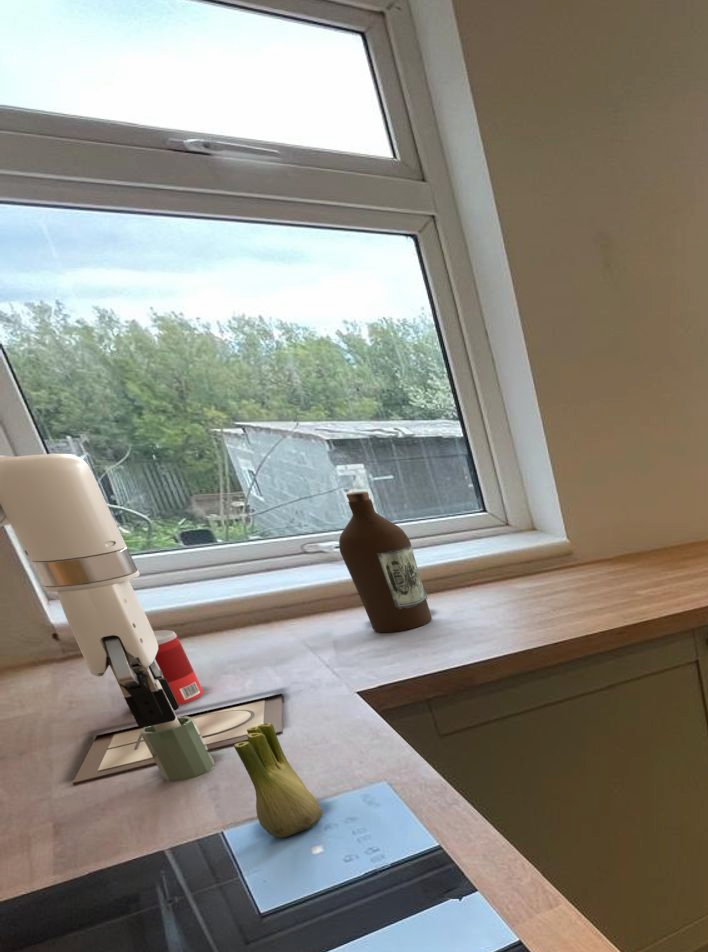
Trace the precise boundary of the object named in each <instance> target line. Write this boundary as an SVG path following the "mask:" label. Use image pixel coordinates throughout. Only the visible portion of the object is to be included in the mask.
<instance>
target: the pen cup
mask: <svg viewBox="0 0 708 952" xmlns="http://www.w3.org/2000/svg"><path fill="white" fill-rule="evenodd" d="M184 716H185V715H184ZM176 717H177V719H178V721H179V723H180V725H179V726H176V727H174V728H171V729H166V730H162V731H156V730H155V728H154V727H153V726H148V727H144V728H143V729H141V731H140V733H141V735H142V737H143V739H144V741H145V743H146V745H147V747H148V749H149V751H150V753H151V754H152V756H153V758H154V760H155V762H156V764H157V765H156V766H157V768H158V771H159V772H160V774H161V776H162V777H163V779H164V781H166V782H179V781H185V780H189V779H193V778H196V777H199V776H202V775H204V774H206V773H209V772H210V771H211V770H213V769H215V767H216V763H215V761H214V758H213V757H212V754H211V751H210V752H209V750H208V748H207V746H206V744H205V742H204V740H203V738H202V736H201V734H200V732H199V730H198V728H197V726H196V724H195V722H194V720H193V718H192V717H187V716H185V717H180V716H176Z"/></svg>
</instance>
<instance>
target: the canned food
mask: <svg viewBox="0 0 708 952" xmlns="http://www.w3.org/2000/svg"><path fill="white" fill-rule="evenodd" d="M153 632H154V635H155V637H156V640H157V643H158V651H157V654H156V656H155V660H156V662H157V664H158V666H159V668H160V670H161V672H162V674H163V678H162V679H165V678H166V680H167V682H168V684H169V686H170V688H171V690H172V692H173V694H174V696H175V699H176V701H177V703H178V705H179V706H181V705H184V704H187V703H190V702H192V701H195V700H197V699H198V698H201V697H202V696H203V695H204V693H205V692H204V690H203V688H202V686H201V683H200V681H199V679H198V677H197V675H196V672H195V671H194V669H193V666H192V664H191V662H190V660H189V658H188V656H187V653H186V651H185V649H184V647H183V645H182V643H181V641H180V639H179V637H178V635H177V633H175V631H174V630H170V629H169V630H167V629H164V630H153ZM158 680H160V679H158Z"/></svg>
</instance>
